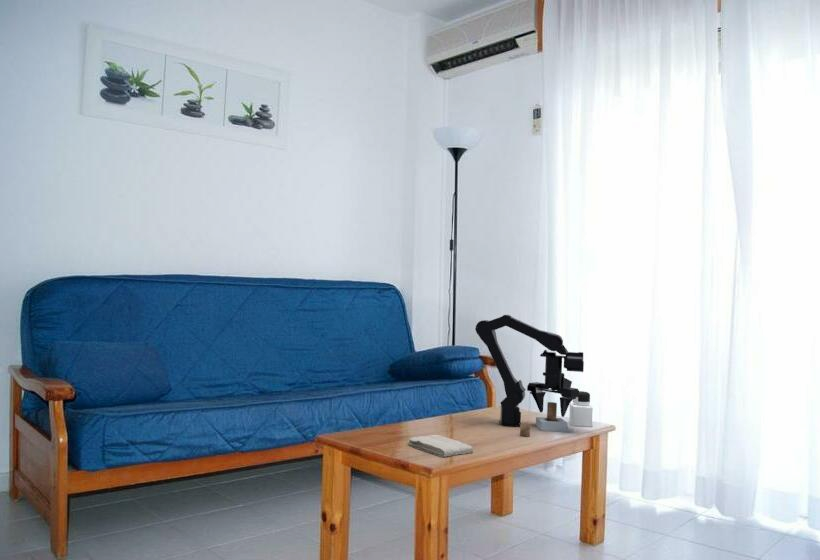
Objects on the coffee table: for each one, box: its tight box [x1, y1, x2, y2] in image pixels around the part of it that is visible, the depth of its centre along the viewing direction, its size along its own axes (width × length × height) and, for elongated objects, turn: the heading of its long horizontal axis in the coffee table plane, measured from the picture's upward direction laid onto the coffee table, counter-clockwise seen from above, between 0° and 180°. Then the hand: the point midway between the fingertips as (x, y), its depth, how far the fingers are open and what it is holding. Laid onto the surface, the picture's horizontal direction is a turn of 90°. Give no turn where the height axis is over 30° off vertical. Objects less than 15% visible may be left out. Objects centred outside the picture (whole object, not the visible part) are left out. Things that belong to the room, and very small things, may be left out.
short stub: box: [519, 422, 531, 438], centre depth 213 cm, size 3×3×4 cm
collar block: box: [535, 416, 569, 433], centre depth 227 cm, size 9×9×3 cm
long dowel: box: [546, 401, 558, 421], centre depth 227 cm, size 3×3×9 cm
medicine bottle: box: [568, 390, 594, 428], centre depth 237 cm, size 7×7×12 cm
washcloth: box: [407, 434, 474, 458], centre depth 190 cm, size 12×18×3 cm, turn 38°
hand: (551, 414), depth 227 cm, fingers open, 9 cm apart
